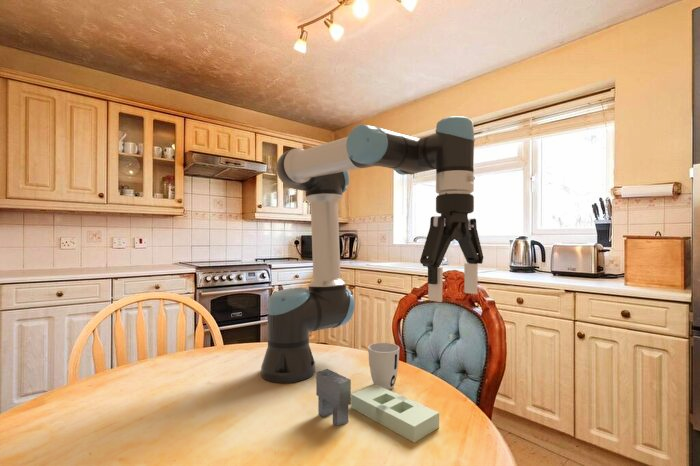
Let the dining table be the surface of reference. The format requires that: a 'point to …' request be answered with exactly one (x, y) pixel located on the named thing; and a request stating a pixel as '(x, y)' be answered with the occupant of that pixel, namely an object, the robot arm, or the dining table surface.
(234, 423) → the dining table surface
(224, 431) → the dining table surface
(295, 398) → the dining table surface
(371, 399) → the block with rectangular hole
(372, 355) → the cup
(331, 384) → the grey foam block
